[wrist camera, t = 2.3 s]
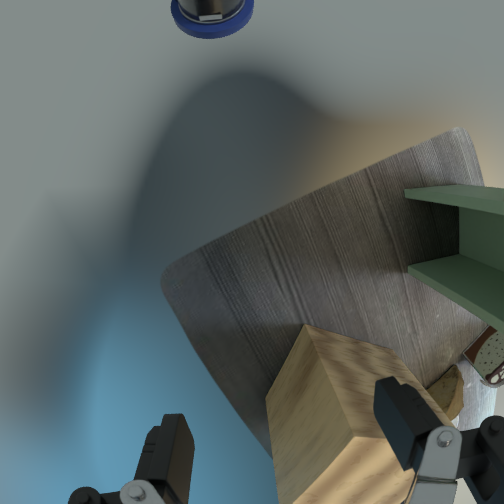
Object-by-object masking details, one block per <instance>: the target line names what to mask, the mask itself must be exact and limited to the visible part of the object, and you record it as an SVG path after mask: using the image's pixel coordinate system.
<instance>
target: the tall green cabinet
mask: <svg viewBox="0 0 504 504" xmlns="http://www.w3.org/2000/svg"><path fill="white" fill-rule="evenodd" d="M404 194H405V198H410V199H416V200H423V201H429V202H435V203H442V204H447V205H453V206H459V254H457V255H453V256H449V257H444V258H440V259H435V260H431V261H426V262H422V263H417V264H412V265H408V274H410V275H412V276H413V277H415V278H417V279H418V280H420V281H422V282H423V283H425V284H427V285H428V286H430V287H431V288H433V289H435V290H436V291H438V292H439V293H441V294H443V295H444V296H446V297H447V298H449V299H451V300H452V301H454V302H455V303H457V304H458V305H460V306H462V307H463V308H465V309H466V310H468V311H469V312H471V313H472V314H474V315H475V316H477V317H478V318H480V319H481V320H483V321H484V322H486V323H487V324H489V325H490V326H492V327H493V328H495V329H496V330H498V331H499V332H501V333H502V334H504V189H503V188H493V187H484V186H473V185H462V184H459V185H446V186H433V187H422V188H411V189H404Z"/></svg>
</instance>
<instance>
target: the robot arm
mask: <svg viewBox="0 0 504 504" xmlns="http://www.w3.org/2000/svg"><path fill="white" fill-rule="evenodd" d="M175 1H176V2H178V5H179V9H180V11H181V13H182V15H183V16H184V17H185V18H186V19H188V20H189V21H191V22H193V23H196V24H201V25H215V24H220V23H224V22H226V21H229V20H231V19H232V18H234V17H235V16H237V15H238V14H239V13H240V12H241V10H242V9H243V7H244V4H245V0H175ZM373 411H374V415H375V418H376V420H377V422H378V424H379V426H380V428H381V429H382V431H383V433H384V435H385V437H386V439H387V441H388V442H389V444H390V446H391V448H392V450H393V452H394V454H395V456H396V458H397V459H398V461H399V463H400V465H401V467H402V469H403V471H407V470H409V469H412V468H413V470H414V472H415V474H414V477H413V480H412V483H411V486H410V489H409V492H408V494H407V497H406V500H405V502H404V504H453V502H454V498H455V494H456V489H457V481H455V479H459V478H464V480H465V482H466V484H467V486H468V487H469V489H470V491H471V493H472V495H473V497H474V499H475V500H476V502H477V504H504V417H501V416H490V417H487V418H486V419H485V420H483V422H482V423H481V425H480V428H476V429H471V430H466V431H459V430H458V429H456V428H455V427H452V426H445V425H444V424H443V423H442V422H441V420H440V419H439V418H438V417H437V415H436V414H435V413H434V411H433V410H432V409H431V407H430V406H429V405H428V404H427V403H426V401H425V400H424V398H423V397H422V396H421V395H420V393H419V392H418V391H417V389H416V388H414V387H412V386H411V385H409V384H407V383H405V384H402V385H400V383H399V382H398V381H397V379H396V378H395V377H394V376H389V377H386V378H383V379H379V380H376V382H375V391H374V402H373ZM194 450H195V446H194V439H193V436H192V434H191V431H190V429H189V427H188V425H187V422H186V420H185V417H184V415H183V414H165V415H164V416H163V419H162V423H161V426H154V427H153V428H152V429H151V431H150V432H149V433H148V434H147V437H146V440H145V445H144V446H143V450H142V453H141V456H140V460H139V463H138V466H137V470H136V473H135V477H134V480H133V481H130V482H128V483H127V484H125V485H124V486H123V487H122V489H121V491H118V492H111V493H104V494H99V493H98V491H97V490H95V489H94V488H91V487H81V488H78V489H76V490H75V491H74V492H73V493H72V494H71V496H70V498H69V501H68V504H188V499H189V490H190V481H191V473H192V465H193V457H194Z"/></svg>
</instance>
